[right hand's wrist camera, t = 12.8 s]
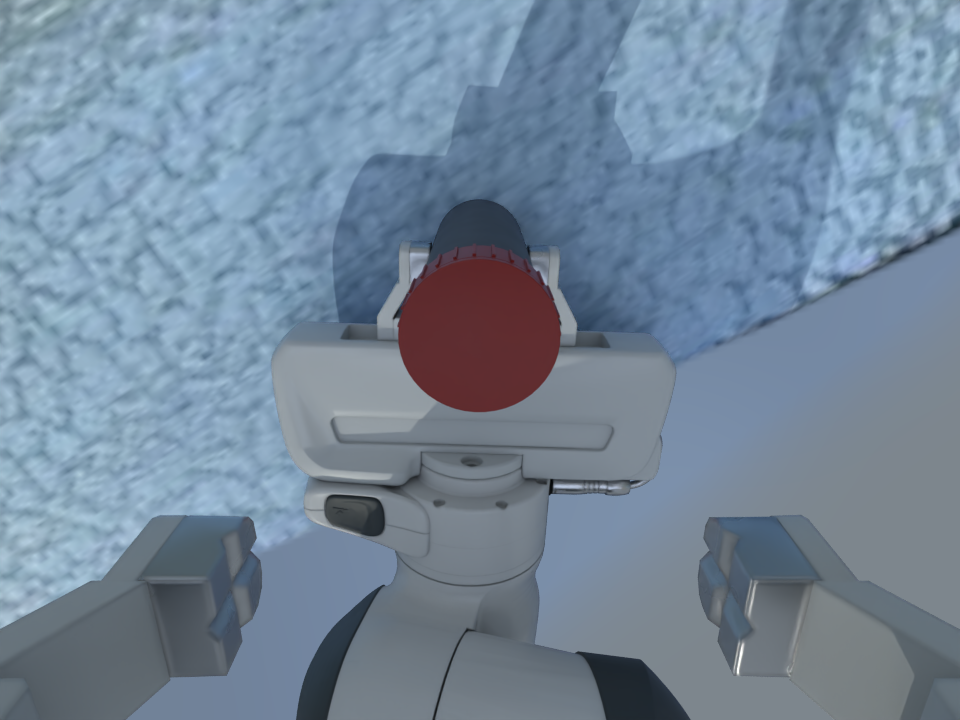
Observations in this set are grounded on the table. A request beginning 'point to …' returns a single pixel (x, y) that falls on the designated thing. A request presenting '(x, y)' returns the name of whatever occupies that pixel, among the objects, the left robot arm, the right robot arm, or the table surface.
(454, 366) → the lid
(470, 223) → the dark grey bottle
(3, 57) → the table surface
